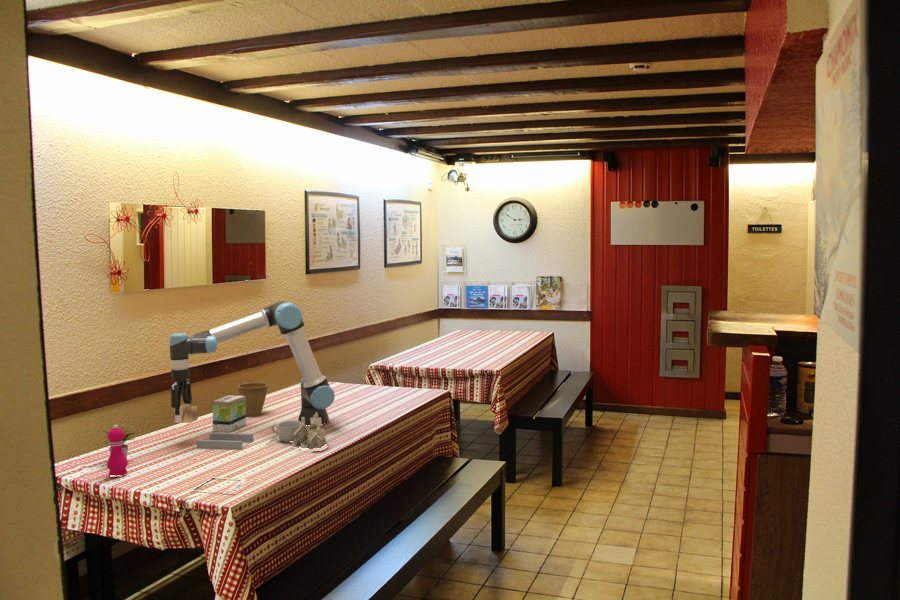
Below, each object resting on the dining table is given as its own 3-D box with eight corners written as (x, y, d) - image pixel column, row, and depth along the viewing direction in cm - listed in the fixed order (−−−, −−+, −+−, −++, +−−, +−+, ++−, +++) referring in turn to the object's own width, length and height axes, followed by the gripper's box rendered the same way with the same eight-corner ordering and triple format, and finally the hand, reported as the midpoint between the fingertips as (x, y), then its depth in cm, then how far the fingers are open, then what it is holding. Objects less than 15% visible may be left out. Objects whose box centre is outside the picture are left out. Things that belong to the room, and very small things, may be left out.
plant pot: (250, 419, 347) (249, 389, 346) (233, 415, 356) (232, 385, 355) (274, 414, 359) (273, 384, 358) (256, 410, 368) (255, 381, 367)
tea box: (231, 432, 324) (230, 401, 323) (212, 431, 326) (211, 401, 325) (247, 424, 339) (246, 395, 338) (228, 423, 341) (227, 394, 340)
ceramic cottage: (294, 442, 305) (294, 410, 303) (330, 443, 306) (330, 410, 304) (286, 454, 290) (286, 420, 288) (324, 455, 290) (325, 421, 288)
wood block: (197, 406, 303) (180, 406, 304) (190, 409, 297) (173, 409, 298) (197, 419, 303) (181, 419, 304) (191, 422, 297) (173, 422, 298)
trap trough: (253, 443, 304) (253, 433, 304) (241, 452, 291) (240, 441, 291) (211, 442, 307) (211, 432, 306) (197, 450, 294) (196, 440, 293)
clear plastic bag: (235, 493, 240) (190, 490, 243) (236, 496, 240) (190, 493, 244) (255, 479, 254) (212, 476, 258) (256, 482, 254) (212, 479, 258)
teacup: (306, 438, 312) (306, 421, 311) (293, 445, 302) (293, 427, 301) (280, 436, 316) (279, 419, 316) (266, 442, 306) (266, 424, 306)
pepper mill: (112, 472, 266) (109, 422, 264) (131, 472, 266) (129, 421, 265) (104, 478, 259) (101, 427, 257) (123, 478, 259) (121, 426, 258)
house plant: (110, 470, 269) (108, 429, 268) (90, 464, 276) (88, 425, 275) (143, 460, 281) (141, 421, 280) (123, 455, 288) (122, 417, 287)
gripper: (183, 364, 309) (185, 414, 311) (160, 372, 290) (163, 425, 292) (198, 364, 308) (201, 414, 310) (176, 372, 289) (179, 425, 291)
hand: (182, 420), depth 301 cm, fingers closed on wood block, 6 cm apart
